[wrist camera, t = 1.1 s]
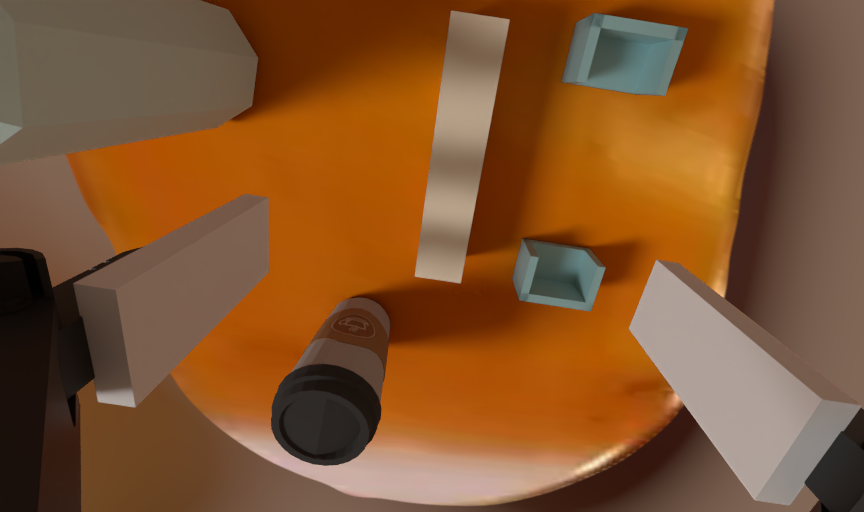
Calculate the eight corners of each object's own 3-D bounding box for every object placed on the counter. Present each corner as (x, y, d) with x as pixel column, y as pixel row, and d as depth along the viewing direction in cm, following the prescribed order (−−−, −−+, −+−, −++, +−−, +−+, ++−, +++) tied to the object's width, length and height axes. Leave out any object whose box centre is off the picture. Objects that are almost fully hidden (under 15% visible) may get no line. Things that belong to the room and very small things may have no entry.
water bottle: (288, 56, 34) (-54, -8, 11) (231, 149, 37) (-128, 252, 14) (181, -35, 32) (-524, -349, 9) (129, 73, 35) (-486, 47, 12)
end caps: (576, 22, 32) (594, 12, 28) (657, 35, 32) (688, 28, 28) (512, 278, 41) (519, 300, 37) (576, 288, 41) (590, 311, 37)
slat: (451, 23, 33) (451, 10, 27) (500, 30, 33) (509, 19, 27) (419, 250, 41) (414, 276, 35) (459, 256, 41) (460, 283, 35)
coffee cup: (408, 297, 42) (387, 399, 29) (391, 360, 46) (365, 480, 32) (329, 277, 42) (269, 372, 28) (317, 343, 45) (259, 457, 31)
